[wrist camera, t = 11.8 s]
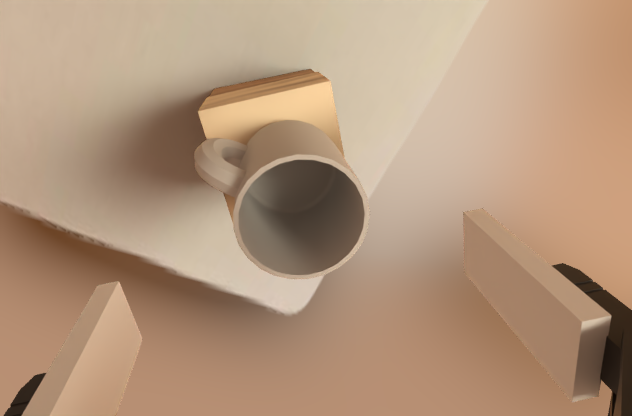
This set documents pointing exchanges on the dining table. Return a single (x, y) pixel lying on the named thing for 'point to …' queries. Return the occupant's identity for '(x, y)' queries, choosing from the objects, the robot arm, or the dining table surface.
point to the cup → (289, 198)
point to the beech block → (271, 110)
